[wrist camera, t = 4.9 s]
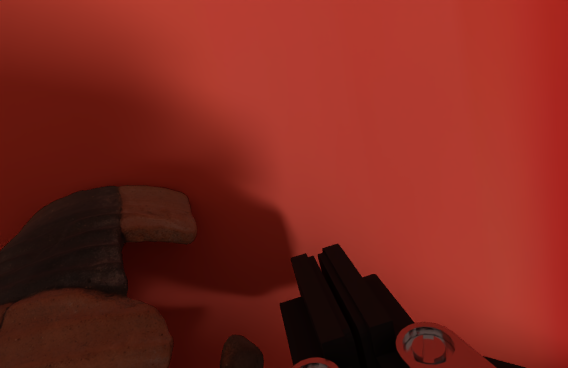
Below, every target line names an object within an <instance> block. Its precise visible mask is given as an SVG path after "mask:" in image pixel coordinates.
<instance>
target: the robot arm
mask: <svg viewBox="0 0 568 368" xmlns="http://www.w3.org/2000/svg"><path fill="white" fill-rule="evenodd" d="M322 251H323V253H320V254H318V259H319V263H320V267H321V270H320V268H319V266H318V264H317V262H316V260H315V258H314V256H310V257H308V256H307V254H306V253H305V254H302V255H299V256H296V257H292V258H291V262H292V266H293V270H294V273H295V277H296V280H297V284H298V288H299V291H300V295H301V297H299V298H296V299H292V300H289V301H286V302H283V303H280V308H281V313H282V317H283V321H284V326H285V330H286V335H287V339H288V343H289V348H290V352H291V357H292V361H293V365H294V366H293V367H292V368H525V367H522V366H518V365H514V364H510V363H507V362H503V361H499V360H496V359H492V358H488V357H484V356H482V355H481V354H479V353H478V352H477V351H476V350H474V349H473V348H472V347H471V346H470V345H468V344H467V343H466V342H465V341H464V340H462V339H461V338H460V337H459V336H458V335H456V334H455V333H454V332H453V331H451V330H449V329H448V328H446V327H445V326H442V325H439V324H436V323H429V322H420V323H414V322H413V320H412V319H411V318H410V317H409V315H408V314H407V313H406V312H405V310H404V309H403V308H402V307H401V305H400V304H399V303H398V302H397V300H396V299H395V298H394V297H393V295H392V294H391V293H390V291H389V290H388V289H387V288H386V286H385V285H384V284H383V283H382V281H381V280H380V279H379V278H378V276H377V275H376V274H372V275H368V276H365V277H362V276H361V275H360V274H359V272H358V271H357V269H356V268H355V267H354V265H353V264H352V262H351V261H350V259H349V258H348V257H347V255H346V254H345V252H344V251H343V250H342V248H341V247H340V245H339V244H335V245H332V246H328V247H325V248H322ZM321 271H322V272H321Z"/></svg>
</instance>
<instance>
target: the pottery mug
mask: <svg viewBox="0 0 568 368" xmlns="http://www.w3.org/2000/svg"><path fill="white" fill-rule="evenodd" d="M196 235H197V225H196V221H195V219H194V218H193V216H192V213H191V207H190V205H189V200H188V197H187V196H186V195H185V194H183V193H181V192H177V191H173V190H170V189H167V188H161V187H152V186H144V185H139V186H129V185H126V186H118V187H117V186H106V187H100V188H95V189H91V190H85V191H84V190H82V191H79V192H76V193H73V194H71V195H69V196H66V197H64V198H61V199H58V200H56V201H54V202H52V203H50V204H48V205H47V206H45V207H43V208H42V209H41V210H39V211H38V212H37V213H36V214H35V215H34V216H33V217H32V218H31V219H30V220H29V221H28V222H27V224H26V225H25V226H24V227H23V228H22V230H21V231H20V232H19V234H17V235H16V236H15V237H14V238H13V239H12V240H11V241H10V242H9V243H8V244H7V245H6V246H5V247H3V248H2V250H1V251H0V368H168V366H169V362H170V360H171V355H172V350H173V338H172V336H171V335H170V333H169V331H168V326H167V324H166V322H165V319H164V318H163V316H162V315H161V314H160V313H159V311H158V310H157V309H156V308H155V307H153V306H151V305H148V304H146V303H144V302H141V301H139V300H135V299H131V298H128V297H127V290H128V280H127V277H126V274H125V271H124V267H123V259H122V248H123V245H124V243H126V242H143V241H151V242H157V241H160V242H173V243H180V244H190V243H191V242H193V240H194V239H195V237H196ZM263 363H264V360H263V354H262V352H261V351H260V349H259V348H258V347H257V346H255V345H254V344H253V343H251V342H250V341H249V340H247V339H246V338H245V337H243V336H240V335H232V336H230V337H229V338H228V339H227V341H226V342H225V344H224V347H223V350H222V356H221V360H220V368H263Z"/></svg>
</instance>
